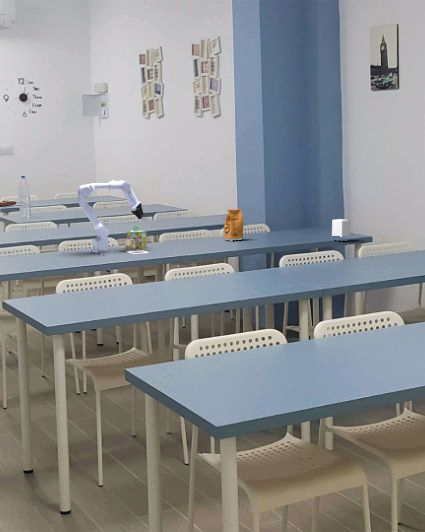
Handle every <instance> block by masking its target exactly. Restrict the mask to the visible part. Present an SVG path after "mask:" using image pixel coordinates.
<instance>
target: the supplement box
mask: <svg viewBox="0 0 425 532" xmlns="http://www.w3.org/2000/svg"><path fill="white" fill-rule="evenodd" d="M331 221H332V222H331V223H332V225H331V237H332V236H340V237H343V236H348V235H349V236H350V228H351V227H350V225H351V220H350V219H345V218H344V219H343V218H339V219H332V220H331Z"/></svg>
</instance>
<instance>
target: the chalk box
mask: <svg viewBox="0 0 425 532" xmlns="http://www.w3.org/2000/svg"><path fill="white" fill-rule="evenodd" d="M132 227H133V230H128V231H127V232H126V234H127V236H126V237H127V239H134V240H135V248H137V249H144V248H147V231H146V230H140V229H139V226H138V225H133V226H132Z"/></svg>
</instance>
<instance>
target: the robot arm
mask: <svg viewBox="0 0 425 532" xmlns="http://www.w3.org/2000/svg"><path fill="white" fill-rule="evenodd" d="M107 189H108V190H109V191H110V192H111V191H112V192H113V191H122V193H123V195H124V197H125V199H126V200H127V201H126V202H128V204H129V206H130V209H132V210H131V211H130V212H131V213H132V214H133V215H134V216H135V217H137V219H138V220H141V219H143V216H144V212H143V211H144V210H143V206H142V203H141V201H138V199H137V197H136V195H135V193H134V191H133V189H132V187H131V183H129V181H127V180H113V179H112V180H111V181H108V183H88V184H82V185H80V186H79V187H78V189H77V202H78V205H79V206H80V207H81V210H82V211H83V212H84V214H85V216H86V217H87V218H88V220H89V221H90V223H91V224H92V226H93V228H94V230H95V234H96V238H93V239H92V243H91V246H92V248H91V249H92V251H91V252H92V253H95V254H100V253H102V252H108V251H109V237H108V236H109V235H110V234H109V233H110V232H109V230H108V228H106V227H105V226H104V225H103V224H102V223H101V221H100V220H99V218H98V216H97V215H96V214H95V212H94V211H93V209H92V207H91V206H90V204H89V203H88V199H89V198H90V196H91V194H92V193H93V192H94V191H96V190H107Z"/></svg>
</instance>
